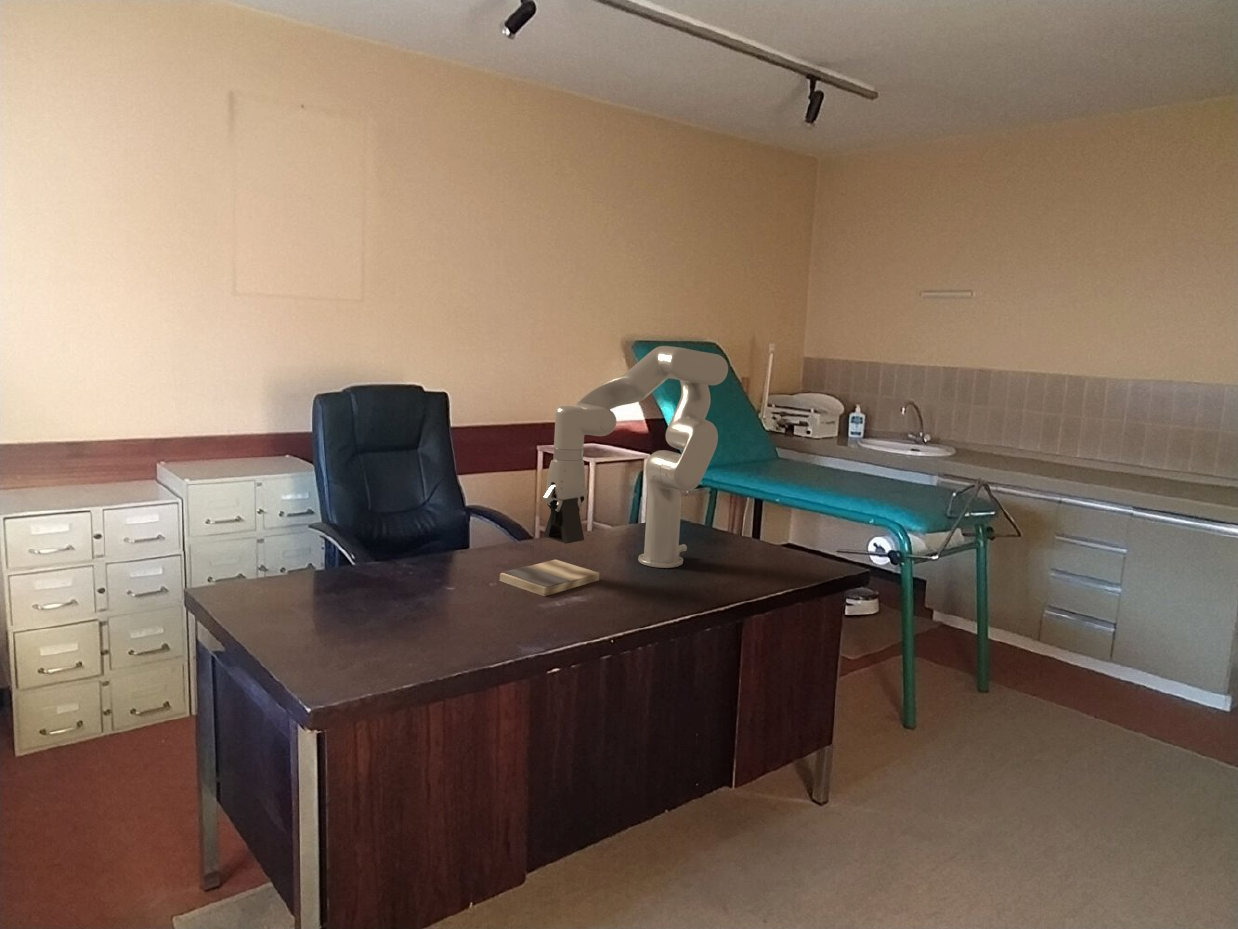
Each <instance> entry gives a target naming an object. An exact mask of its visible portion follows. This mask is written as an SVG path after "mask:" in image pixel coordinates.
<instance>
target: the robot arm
mask: <svg viewBox="0 0 1238 929" xmlns="http://www.w3.org/2000/svg"><path fill="white" fill-rule="evenodd" d="M728 373H729V364H728V362H727V360H726V359H725V358H724V357H723V356H721V354H717V353H712V352H707V351H706V352H705V351H699V350H694V349H690V348H686V347H679V346H678V347H677V346H670V345H660V346H657V347H655V348H653V349H652V350H651V351H650V352H648V353H647V354H646V355H645V356H643V357H642V359H640V360H639V361H638V362H637V363H635V364H634V365H633V366H632V367H631V368H629V369H628V370H627V371H625V373H624V374H621V375H620V376H618V377H616V378H613V379H611V380H609V381H607V382H605V383H604V384H601V385H599V386H597V387H595V388H594V389H593V390H591V391H589V392H588V393H586V394H585V395H584V396H583V397H582V398H581V399H580V400H578V401H577V402H576V403H575V404H574V405H563V406H562V405H561V406H559V407H557V408H556V411H555V419H554V420H555V421H554V436H553V441H554V442H553V456H552V457H553V459H551V460H550V464H549V468H548V471H547V472H548V473H547V478H546V488H545V489H546V490H545V494H544V496H543V497H542V498H543V501H544V502H545V503H546V505H547V507H548V509H549V510H550V514H551V519H550V524H551V525H554V526H557V527H559V526H561V511H560V508H561V505H562V502H563V500H568V499H574V498H578V509H579V512H580V509H581V507H582V504H583V502H584V501H585V498H586V496H587V495H588V493H589V491H588V489H587V488H586V487H585V486H586V485H585V483H586V478H585V477H586V472H585V462H584V454H585V450H584V446H585V436H586V435H587V436H595V437H605V436H608V435H610V434H611V433H613V432H614V430H615V428H616V426H617V421H618V420H617V417H616V414H615V413H614V412H613V409H615V408H617V407H620V406H626V405H631V404H635V403H638V402H642V401H644V400H645V399H646V398H647V397H649V395H651V394H652V393H653V392H654V391H655V390H656V389H658V388H659V387H660V386H661V385H662V384H664V383H665V381H667V380H668V379H669V380H670V379H671V380H679V382H680V387H681V394H680V395H681V396H680V399H679V401H678V403H677V406H676V408H675V411H674V413H673V415H672V417H671V420H670V422H669V424H668V426H667V428H666V431H665V441H666V442H667V444H668V445H669V446H670V447H671V448H674V449H676V450H680V451H682V452H681V453H679V452H675V451H671V450H664V449H663V450H656V451H654V452H652V453H651V455H649V456H648V458H647V459H646V463H645V479H646V488H647V491H646V492H647V494H646V495H647V496H646V498H647V499H646V513H645V514H646V516H645V532H644V534H645V535H644V550H643V553H641V554H639V555H638V559H637V560H638V562H639V563H640V564H642V565H645V566H648V567H652V568H659V569H660V568H661V569H664V568H665V569H669V568H671V569H672V568H677V567H679V566H682V565H683V563H684V558H683V557H682V556H680V554H681V553H682V552H685V551H687V550H688V547H687V545H686V544H684V543H683V544H680V543H679V541H680V531H681V530H680V529H681V528H680V527H681V516H682V514H681V513H682V495H681V492H692V490H695V489H696V488H697V487H698V486H699V484H700V483H701V482H702V479H703V478H704V476H705V474H706V472H707V470H708V467H709V465H710V463H711V460H712V458H713V456H714V454H715V451H716V448H717V447H718V441H719V440H718V439H719V435H718V429H717V427H716V426H715V424H714V423H713V422H711V421H709V420H707V419H706V417H707V415H708V413H709V409H710V408H711V407H710V406H711V403H712V402H711V401H712V400H711V393H710V392H711V391H710V388H709V386H718V385H719V384H722V382H724V381H725V379H726V378H727V375H728ZM555 495H556V496H555ZM556 501H558V502H557V505H556V504H555V502H556Z"/></svg>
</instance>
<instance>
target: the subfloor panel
mask: <svg viewBox="0 0 1238 929" xmlns="http://www.w3.org/2000/svg"><path fill="white" fill-rule="evenodd" d="M499 581H500V582H502V583H505V584H508V585H510V586H513V587H515V588H519V589H522V590H524V591H528V592H531V593H533V594H537V595H539V596H542V597H546V596H549V595H553V594H556V593H560V592H563V591H568V590H570V589H574V588H576V587H580V586H583V585H587V584H591V583H594V582H598V581H600V572H597V571H594V570H591V569H588V568H585V567H581V566H578V565H575V564H572V563H568V562H565V561H562V560H559V559H552V560H548V561H544V562H540V563H536V564H532V565H528V566H527V565H525V566H521V567H517V568H513V569H509V570H505V571H502V572H501V573H499Z"/></svg>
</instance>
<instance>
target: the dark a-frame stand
mask: <svg viewBox="0 0 1238 929" xmlns="http://www.w3.org/2000/svg"><path fill="white" fill-rule="evenodd" d="M555 496H556V495H555ZM557 502H558V501H556V502H555V504H556V505H557ZM560 511H561V526H559V527H557V526H554V525H551V524H550V519H551V513H550V515H549V516H548V520H547V524H546V526H545V529H544V533H543V537H544V538H547V539H550V540H554V541H558V542H560V543H563V544H566V545H567V544H571V543H577V542H583V541H585V536H584V531H583V526H582V525H583V524H582V519H581V515H580V511H579V509H578V498H574V499H568V500H563V502H562V505H561V508H560Z"/></svg>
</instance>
